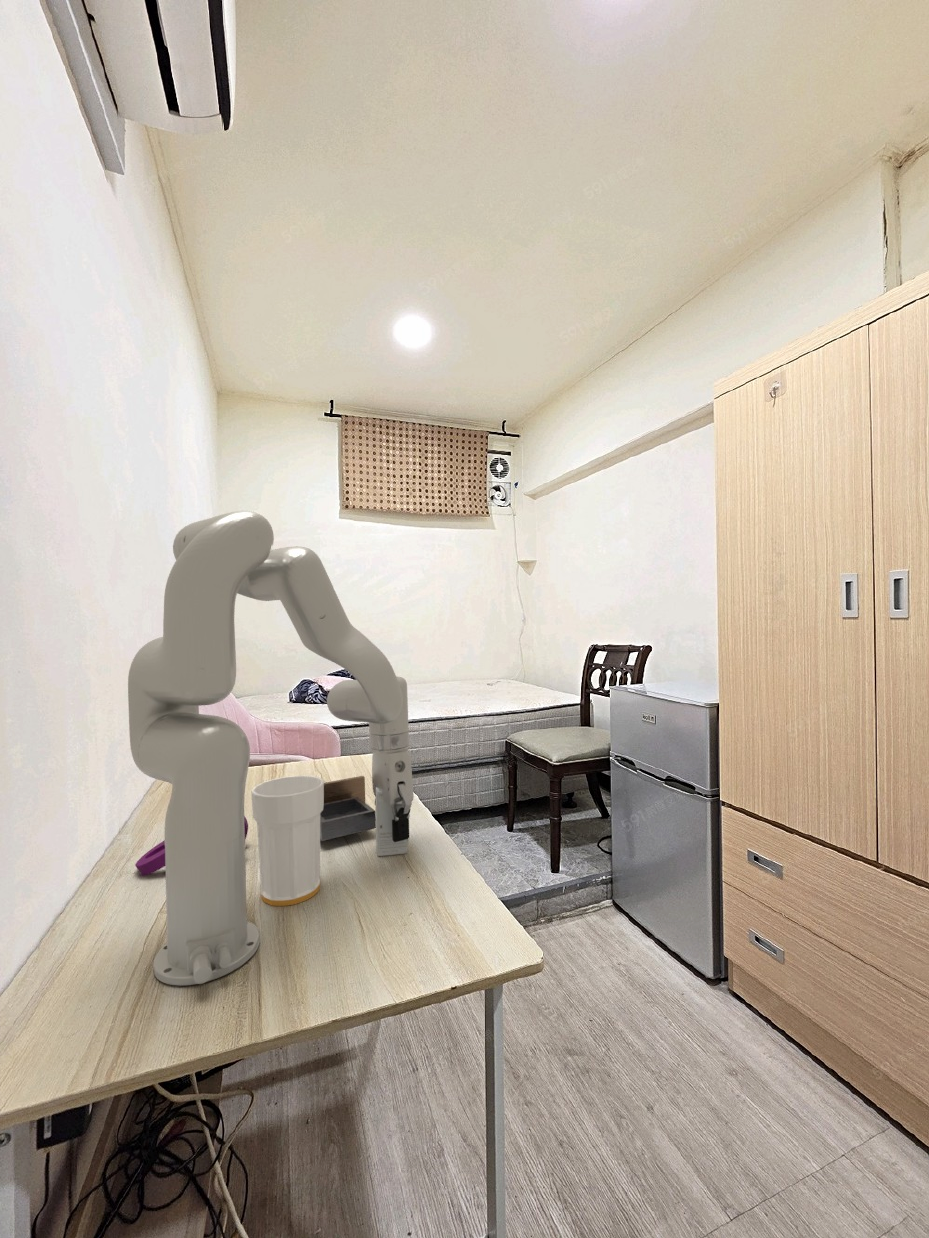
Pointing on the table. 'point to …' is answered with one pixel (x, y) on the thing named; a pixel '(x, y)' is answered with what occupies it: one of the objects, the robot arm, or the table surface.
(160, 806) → the table surface
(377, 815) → the skincare box
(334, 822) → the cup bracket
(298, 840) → the cup
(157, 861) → the mounting bracket
